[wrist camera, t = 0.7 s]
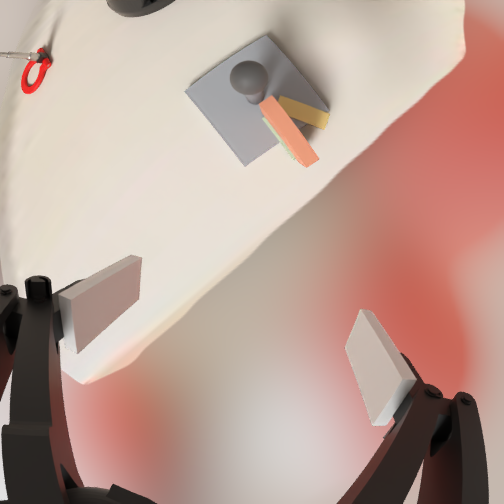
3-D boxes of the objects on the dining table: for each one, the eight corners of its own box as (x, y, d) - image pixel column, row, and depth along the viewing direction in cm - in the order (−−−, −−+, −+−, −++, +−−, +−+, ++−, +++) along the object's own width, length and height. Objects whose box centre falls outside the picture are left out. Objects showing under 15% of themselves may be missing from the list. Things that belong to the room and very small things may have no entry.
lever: (236, 94, 31) (218, 70, 20) (258, 79, 30) (251, 48, 19) (291, 165, 34) (302, 177, 23) (313, 151, 33) (334, 155, 22)
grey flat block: (187, 93, 33) (183, 91, 31) (266, 38, 29) (266, 34, 27) (258, 182, 37) (257, 184, 36) (339, 128, 34) (342, 128, 32)
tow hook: (31, 101, 33) (54, 65, 30) (-17, 105, 21) (5, 61, 18) (21, 80, 31) (43, 45, 28) (-23, 81, 19) (-2, 40, 16)
